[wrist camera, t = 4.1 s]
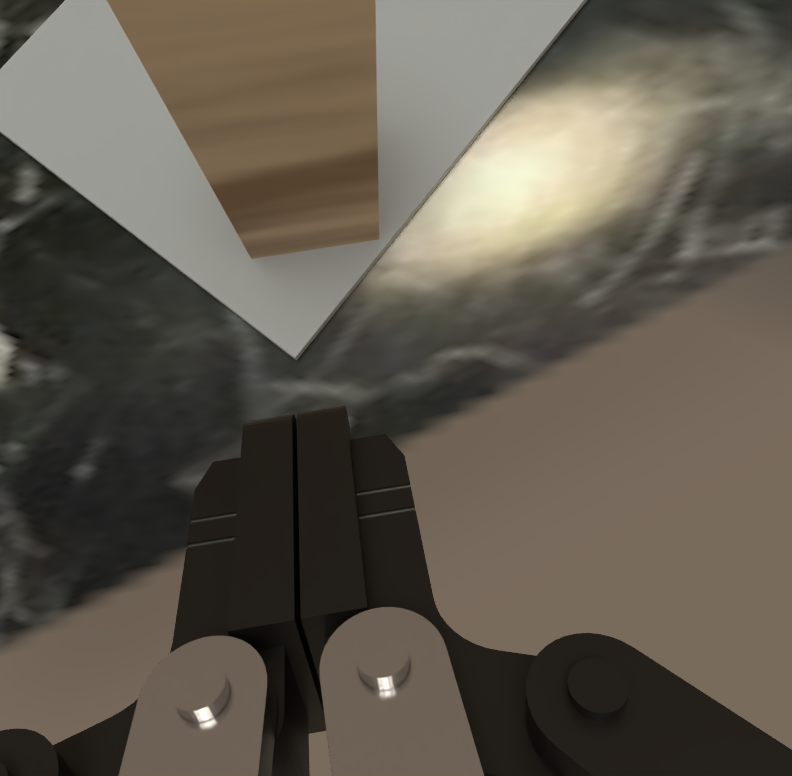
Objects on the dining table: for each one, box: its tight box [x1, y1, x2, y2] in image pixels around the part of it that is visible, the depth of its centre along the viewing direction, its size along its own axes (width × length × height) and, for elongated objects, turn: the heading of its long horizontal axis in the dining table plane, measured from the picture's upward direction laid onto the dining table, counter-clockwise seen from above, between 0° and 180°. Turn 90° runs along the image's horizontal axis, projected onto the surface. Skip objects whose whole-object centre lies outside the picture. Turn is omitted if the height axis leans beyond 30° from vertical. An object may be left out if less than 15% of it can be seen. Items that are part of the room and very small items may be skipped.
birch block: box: [107, 0, 379, 259], centre depth 18 cm, size 4×4×14 cm
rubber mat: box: [0, 0, 588, 361], centre depth 26 cm, size 18×15×1 cm
